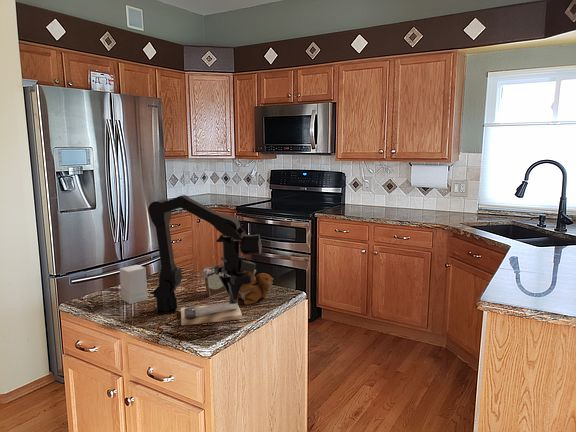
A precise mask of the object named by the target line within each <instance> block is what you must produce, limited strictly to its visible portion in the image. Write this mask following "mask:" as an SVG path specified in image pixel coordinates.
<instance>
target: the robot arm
mask: <svg viewBox="0 0 576 432" xmlns="http://www.w3.org/2000/svg"><path fill="white" fill-rule="evenodd" d="M177 209H183V210H184V211H187V212H189V213H190V214H192V215H193V216H196V217H197V218H200V219H201V220H203V221H205V222H207V223H208V224H211V225H212V226H213V227H214V228H215V230H216V231H218V233H220V236H219V238H217V239H216V241H215V242H216V243H222V256H221V257H220V260H221V261H222V262H223V263H222V264H219V265H218V264H217V265H215V266H216V267H215V268H214V273H215V274H216V275H219V272H220V273H221V276H219V278H220V280H221V282H222V284H223V286H224V288H225V289H226V291H227V292H226V293H227V295H228V296H229V288H230V291H231V294H232V297H233V299H234V300H237V298H238V294H239V293H240V287H241V285H243V284H248V283H251V282H252V278H251V276H250V275H248V274H246V273H240V272H244V270H245V271H249V272H251V273H254V270H256V266H257V264H256V263H254V262H252V261H249V260H248V259H249V258H247V257H245V256H246V255H251V256H252V255H254V256H255V255H262V248H263V245H262V240H261V234H247V233H246V231H245V229H243V227H241V223H240V220H239V219H238V218H237V217H234V216H231V215H228V214H225V213H219V212H217V211H215V210H214V209H212V208H210V207H208V206H206V205H204V204H202V203H199V202H198V201H196V200H194V199H192V198H190V197H189V196H188V195H186V194H181V195H178V196H177V197H175V198H171V199H168V200H167V199H163V198H162V199H158V200H155V201H152V202H151V203H150V204H149V205H148V208H147V211H148V215H149V218H150V220H151V222H152V224H153V226H154V227H155V232H156V239H157V245H158V246H157V247H158V253H159V259H160V260H159V261H160V270H159V271H160V272H159V275H158V286H157V287H156V288H155V289H154V290H153V291H152V295H153V297H154V298H155V299H156V315H162V314H163V315H164V314H172V313H174V314H175V313H176V312H177V309H178V300H177V299H178V298H177V295H176V294H175V293H176V290H177V288H178V287H179V286H180V285H181V284H182V280H183V274H182V267H177V265H176V264H175V258H174V256H175V255H174V250H173V243H172V235H171V230H170V229H171V228H170V222H171V219H172V211H174V210H177ZM240 253H242V254H243V255H245V256H240V255H241V254H240ZM238 299H239V298H238Z"/></svg>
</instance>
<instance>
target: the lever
mask: <svg viewBox="0 0 576 432" xmlns="http://www.w3.org/2000/svg"><path fill="white" fill-rule="evenodd" d="M228 298H229V299H228V301H227V302H223V303H219V304H211V305H212V306H208V305H205V306H206V307H201V308H196V309H195V308H194V307H195V306H189V308H187V307H185V308H186V309H185V310H184V311H185V318H186V319H193V318H195V317H196V316H201V315H206V314H211V313H216V312H221V311H226V310H231V309H236V308H238V306H239V298H237V300H234V299H233V297H232V294H231V291H230V288H229V295H228Z"/></svg>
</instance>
